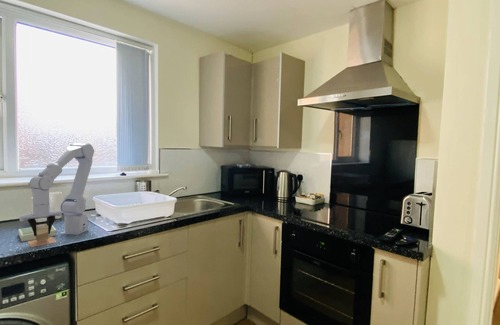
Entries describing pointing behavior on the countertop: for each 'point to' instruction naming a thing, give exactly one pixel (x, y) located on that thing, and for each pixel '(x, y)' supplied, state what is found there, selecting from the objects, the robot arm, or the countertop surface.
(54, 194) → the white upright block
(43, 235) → the birch block
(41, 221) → the cup
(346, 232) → the countertop surface
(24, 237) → the pale green bin
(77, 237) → the countertop surface
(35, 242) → the terracotta tile
